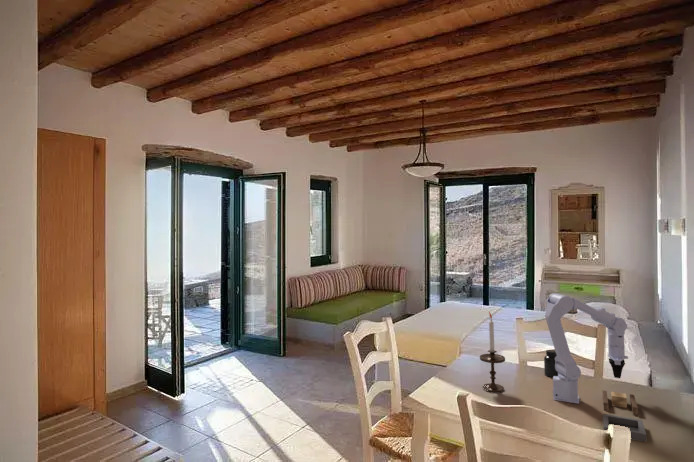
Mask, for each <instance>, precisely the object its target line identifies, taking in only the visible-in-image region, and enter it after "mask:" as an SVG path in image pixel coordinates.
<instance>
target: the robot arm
mask: <svg viewBox="0 0 694 462" xmlns="http://www.w3.org/2000/svg"><path fill="white" fill-rule="evenodd" d="M545 302H546V309H545V317H544V318H545V320H546V324H547V328H548V332H549V333H550V334H549V335H550V337H551V341H552V345H553V347H554V350H555V351H556V355H557V356H556V357H555V369H556V371H557V372H558V376H553V378H552V399H553V400H554V401H559V402H567V403H571V404H580V396H579V385H578V384H579V383H578V382H579V378H581V375H582V370H581V368H580V367H579V366H578V365H577V362H576V360H575V359H574V357H573V356H572V354H571V351H570V348H569V343H568V341H567V338H566V334H565V331H564V327H563V324H562V321H561V320H562V318H563V317H564V316H565V315H566V314H568V313H569V312H570V311H572V310H579V311H581V312H583V313H585V314H588V315H589V316H590V317H591V320H593V321H594V322H597V323H598V324H601V325H602V326H604V327H606V328H607V343H608V344H607V346H608V347H607V348H608V354H607V356H608V364H610V366H611V368H612V374H613V377H614V378H616V379H621V377H622V372H623V370H624V369H623V368H624V366H625V365H626V363H625V359H629V355H625V354H626V353H625V335H626V334H625V332H626V330H627V329H628V324H627V323H626V321H625V319H623V318H621V317H619V316H616V314H615V313H612V312H611V313H610V312H609V311H607V310H606V308H604V307H595V308H594V307H592V306H590V305H588V304H587V303H586V302H583V301H581V300H580V299H578V298H575V297H571V296H569V295H563V294H560V293H558V292H553V293H551V294H549V296H548V297H547V299H546V300H545Z"/></svg>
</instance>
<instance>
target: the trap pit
mask: <svg viewBox="0 0 694 462" xmlns="http://www.w3.org/2000/svg"><path fill="white" fill-rule="evenodd" d="M602 423H603V431H604V430H607V429H608V425H609V424H614V425H620V426H625V427H628V428H630V431H631V438H632V439H631V440H633V439H634V441H638V440H640V441H639V442H644V441H646V442H645V443H647V440H648V439H647V433H646V428H645V424H644V421H643V420H642V419H638V418H632V417H627V416H619V415H614V414H609V413H608V414H607V413H602Z"/></svg>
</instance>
